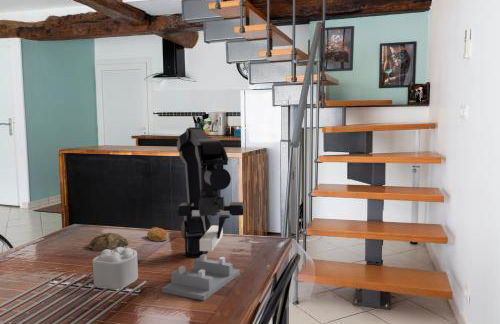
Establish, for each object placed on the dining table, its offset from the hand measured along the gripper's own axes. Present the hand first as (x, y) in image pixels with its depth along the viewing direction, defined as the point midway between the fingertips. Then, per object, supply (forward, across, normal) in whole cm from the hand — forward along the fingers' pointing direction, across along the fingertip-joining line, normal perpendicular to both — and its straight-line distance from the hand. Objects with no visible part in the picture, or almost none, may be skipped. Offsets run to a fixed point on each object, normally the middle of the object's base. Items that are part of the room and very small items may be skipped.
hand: (211, 238), depth 124 cm
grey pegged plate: (+11, -2, -4) cm, 12 cm away
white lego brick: (+12, -27, -2) cm, 29 cm away
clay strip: (+1, 0, 0) cm, 1 cm away
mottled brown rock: (+11, -42, +30) cm, 52 cm away
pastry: (+11, -26, +39) cm, 48 cm away
